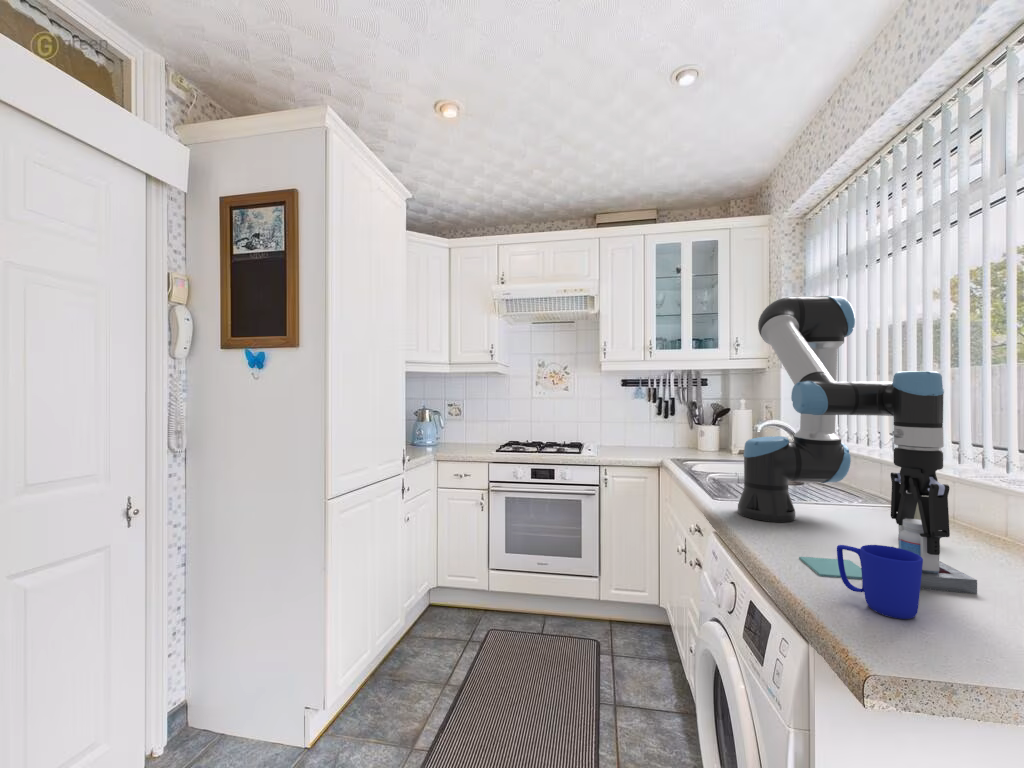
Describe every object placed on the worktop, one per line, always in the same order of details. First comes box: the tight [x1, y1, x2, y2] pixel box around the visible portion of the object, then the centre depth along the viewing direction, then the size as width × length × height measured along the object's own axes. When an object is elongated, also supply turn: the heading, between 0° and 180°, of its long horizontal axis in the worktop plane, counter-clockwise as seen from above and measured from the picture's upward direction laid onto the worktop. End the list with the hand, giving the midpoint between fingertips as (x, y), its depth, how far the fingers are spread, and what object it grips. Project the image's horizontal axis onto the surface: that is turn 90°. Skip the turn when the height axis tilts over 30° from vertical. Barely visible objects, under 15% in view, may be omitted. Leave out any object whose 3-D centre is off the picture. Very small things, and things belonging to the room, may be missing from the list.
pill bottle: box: [897, 519, 939, 573], centre depth 93 cm, size 6×6×11 cm
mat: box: [798, 556, 862, 580], centre depth 97 cm, size 10×10×1 cm
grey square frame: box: [920, 560, 978, 595], centre depth 93 cm, size 12×12×2 cm
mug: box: [836, 544, 923, 620], centre depth 80 cm, size 8×12×10 cm
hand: (918, 563), depth 93 cm, fingers closed on pill bottle, 6 cm apart
